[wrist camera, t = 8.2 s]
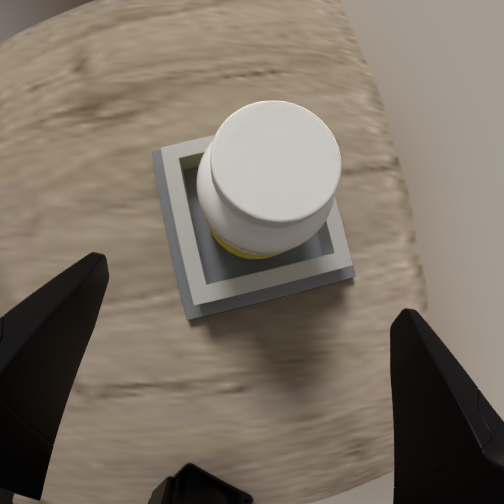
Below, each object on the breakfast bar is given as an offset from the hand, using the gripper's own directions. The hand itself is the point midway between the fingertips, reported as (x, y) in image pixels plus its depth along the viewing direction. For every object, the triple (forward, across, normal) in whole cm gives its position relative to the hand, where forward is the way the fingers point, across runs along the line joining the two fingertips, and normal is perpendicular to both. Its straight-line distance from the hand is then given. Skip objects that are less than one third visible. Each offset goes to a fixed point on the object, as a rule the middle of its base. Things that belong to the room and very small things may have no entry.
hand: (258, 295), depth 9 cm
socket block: (+13, 0, +6) cm, 14 cm away
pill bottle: (+12, 0, +6) cm, 13 cm away
